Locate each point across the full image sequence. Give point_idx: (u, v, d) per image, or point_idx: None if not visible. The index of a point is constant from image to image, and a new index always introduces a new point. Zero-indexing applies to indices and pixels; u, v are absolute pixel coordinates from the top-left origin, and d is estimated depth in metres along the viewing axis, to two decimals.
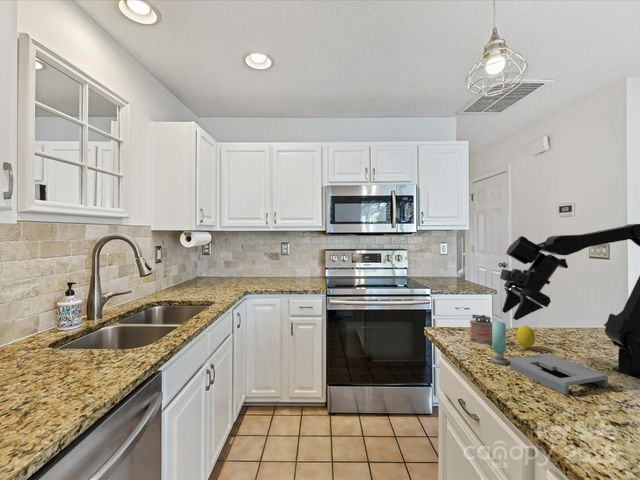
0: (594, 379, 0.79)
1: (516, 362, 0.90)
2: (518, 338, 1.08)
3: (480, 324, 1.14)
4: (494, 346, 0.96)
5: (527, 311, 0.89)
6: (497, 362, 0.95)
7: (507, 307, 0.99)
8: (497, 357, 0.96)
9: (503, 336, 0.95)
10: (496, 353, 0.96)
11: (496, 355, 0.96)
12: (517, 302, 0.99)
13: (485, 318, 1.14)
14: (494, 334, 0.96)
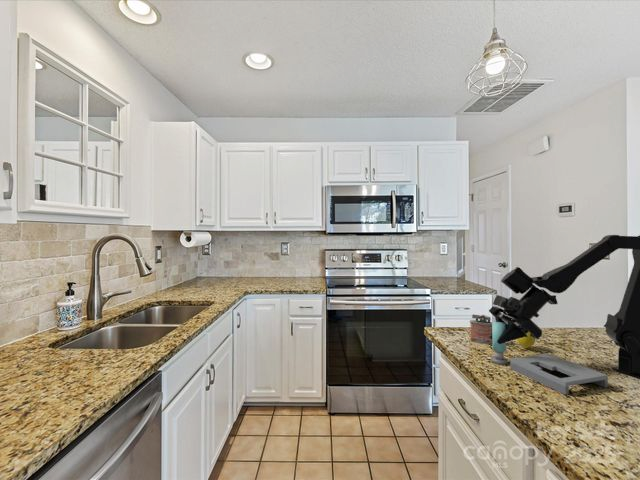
0: (594, 379, 0.79)
1: (516, 362, 0.90)
2: (518, 338, 1.08)
3: (480, 324, 1.14)
4: (494, 346, 0.96)
5: (511, 337, 0.93)
6: (497, 362, 0.95)
7: None
8: (497, 357, 0.96)
9: None
10: (496, 353, 0.96)
11: (496, 355, 0.96)
12: None
13: (485, 318, 1.14)
14: (494, 334, 0.96)
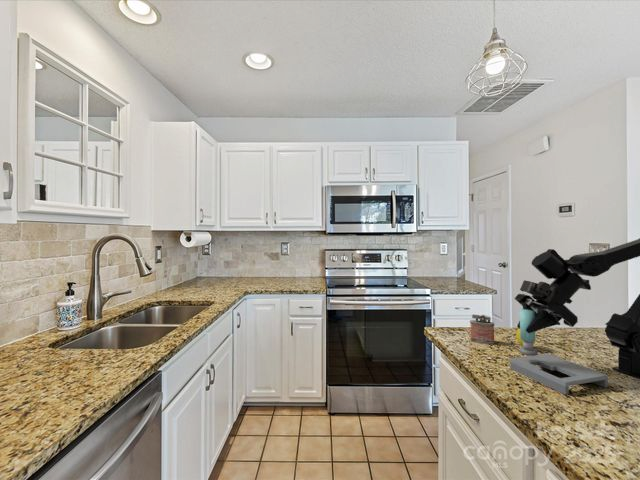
0: (594, 379, 0.79)
1: (516, 362, 0.90)
2: (518, 338, 1.08)
3: (480, 324, 1.14)
4: (522, 335, 0.89)
5: (542, 325, 0.86)
6: (526, 352, 0.88)
7: None
8: (526, 347, 0.88)
9: None
10: (525, 343, 0.89)
11: (525, 345, 0.89)
12: None
13: (485, 318, 1.14)
14: (522, 322, 0.89)
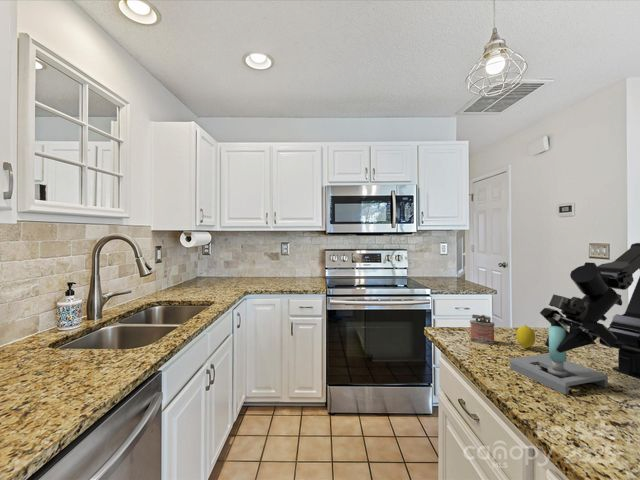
0: (594, 379, 0.79)
1: (516, 362, 0.90)
2: (518, 338, 1.08)
3: (480, 324, 1.14)
4: (552, 355, 0.82)
5: (575, 345, 0.79)
6: (556, 373, 0.81)
7: None
8: (556, 368, 0.81)
9: None
10: (554, 363, 0.82)
11: (554, 365, 0.82)
12: None
13: (485, 318, 1.14)
14: (552, 341, 0.81)
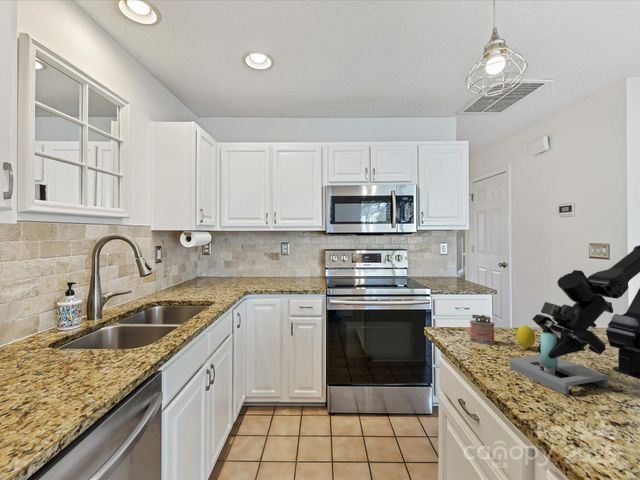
0: (594, 379, 0.79)
1: (516, 362, 0.90)
2: (518, 338, 1.08)
3: (480, 324, 1.14)
4: (544, 361, 0.84)
5: (565, 351, 0.81)
6: None
7: None
8: None
9: None
10: (546, 369, 0.84)
11: (546, 371, 0.84)
12: None
13: (485, 318, 1.14)
14: (544, 347, 0.84)
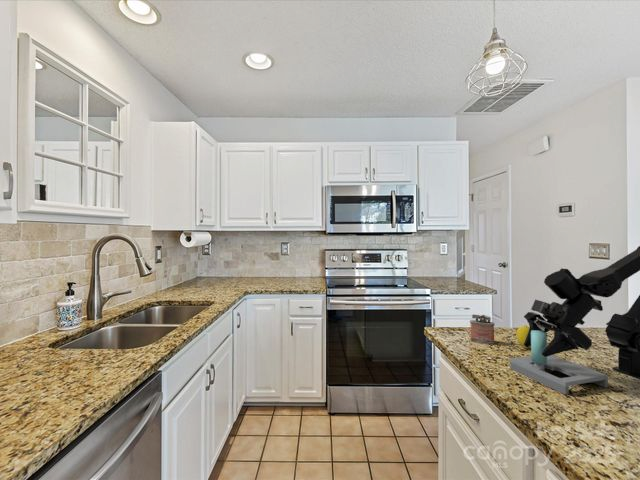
0: (594, 379, 0.79)
1: (516, 362, 0.90)
2: (518, 338, 1.08)
3: (480, 324, 1.14)
4: (534, 357, 0.87)
5: (559, 349, 0.82)
6: None
7: (530, 341, 0.91)
8: None
9: (544, 346, 0.85)
10: (536, 365, 0.87)
11: None
12: None
13: (485, 318, 1.14)
14: (534, 344, 0.87)
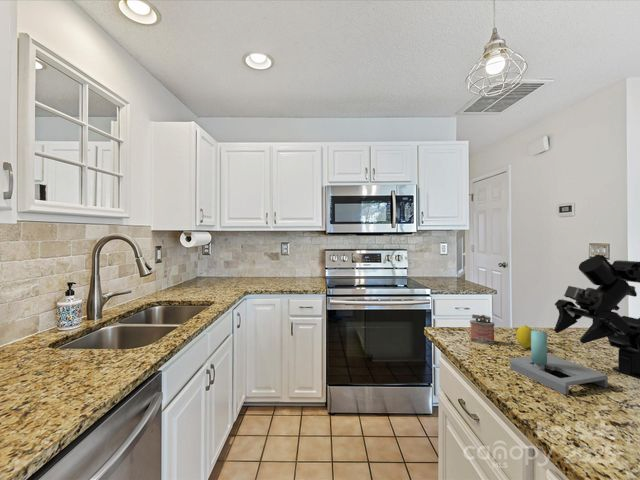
0: (594, 379, 0.79)
1: (516, 362, 0.90)
2: (518, 338, 1.08)
3: (480, 324, 1.14)
4: (534, 357, 0.87)
5: (598, 336, 0.81)
6: None
7: (560, 327, 0.92)
8: None
9: (544, 346, 0.85)
10: (536, 365, 0.87)
11: None
12: (570, 323, 0.92)
13: (485, 318, 1.14)
14: (534, 344, 0.87)
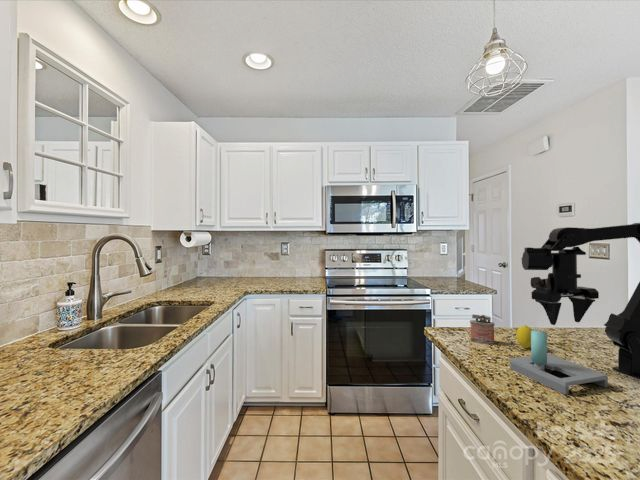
0: (594, 379, 0.79)
1: (516, 362, 0.90)
2: (518, 338, 1.08)
3: (480, 324, 1.14)
4: (534, 357, 0.87)
5: (553, 312, 0.89)
6: None
7: (576, 315, 0.93)
8: None
9: (544, 346, 0.85)
10: (536, 365, 0.87)
11: None
12: (583, 306, 0.91)
13: (485, 318, 1.14)
14: (534, 344, 0.87)
